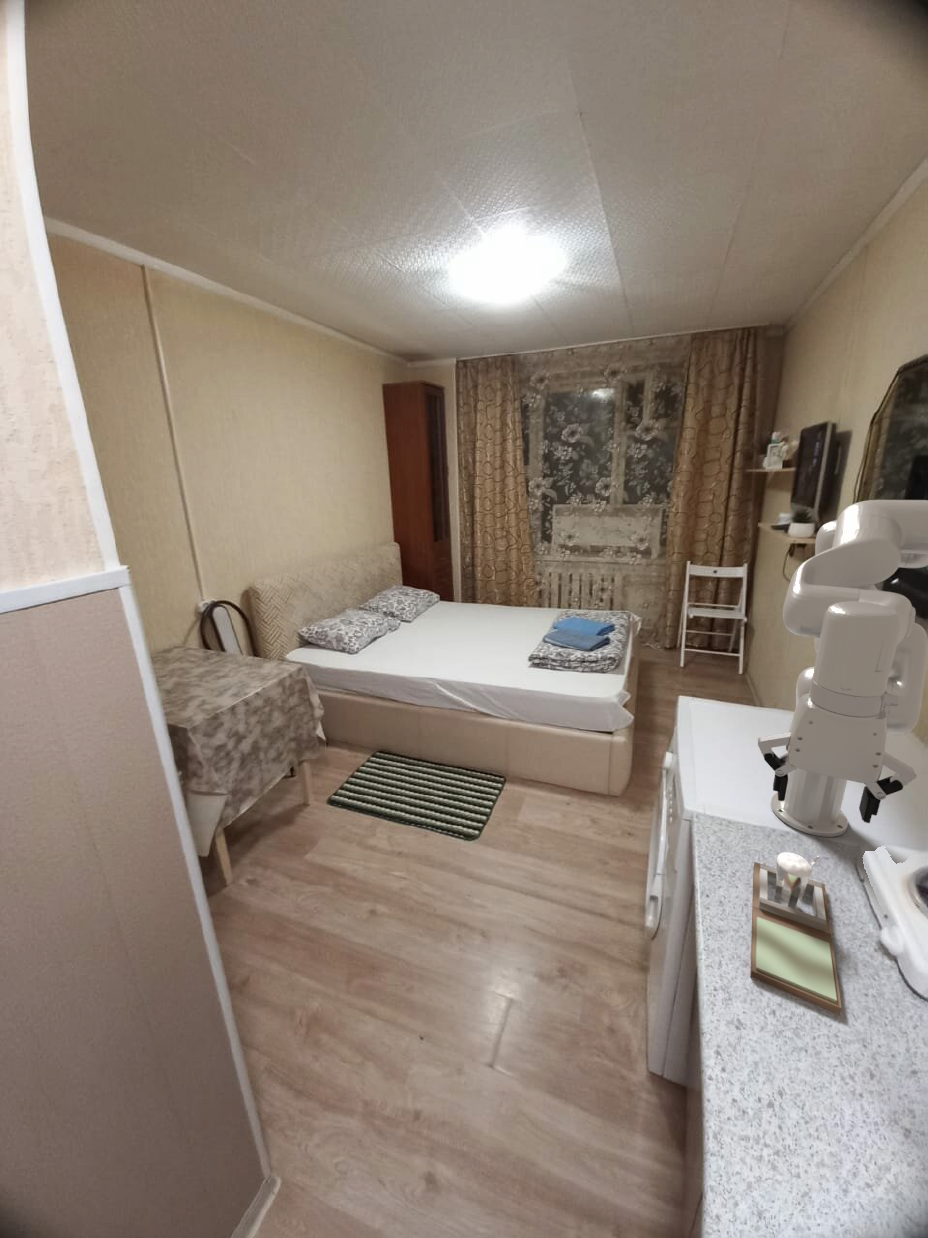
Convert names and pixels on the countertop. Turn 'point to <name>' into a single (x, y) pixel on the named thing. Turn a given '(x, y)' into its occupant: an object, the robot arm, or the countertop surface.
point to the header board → (793, 944)
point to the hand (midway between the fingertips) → (820, 805)
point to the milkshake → (791, 879)
